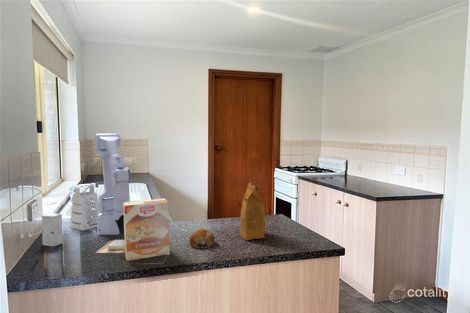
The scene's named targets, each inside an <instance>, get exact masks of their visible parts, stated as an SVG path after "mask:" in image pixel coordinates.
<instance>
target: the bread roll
mask: <svg viewBox="0 0 470 313" xmlns="http://www.w3.org/2000/svg"><path fill="white" fill-rule="evenodd" d="M215 239H216V238H215V235H214V232H212V231H211V230H209V229H207V228H197V229H196V230H194V231H193V232H192V233H191V234H190V236H189V246H190V247H192V248H194V249H206V248H209V247H212V246H214V244H215Z"/></svg>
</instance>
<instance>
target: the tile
mask: <svg viewBox="0 0 470 313" xmlns="http://www.w3.org/2000/svg"><path fill="white" fill-rule="evenodd" d="M107 248H108V250H125V239H114V241H113V242H112V243H110V244H109V245H108V246H107Z"/></svg>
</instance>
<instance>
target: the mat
mask: <svg viewBox="0 0 470 313" xmlns="http://www.w3.org/2000/svg"><path fill="white" fill-rule="evenodd" d="M114 240H115V239H114ZM114 240H112V239H111V240H109V241H108V242H106V243H105V244H104V245H103V246H102V247H100V248H99V249H98V250H97V251H95V252H94V254H118V253H119V254H120V253H121V254H122V253H123V254H125V250H108V248H107V246H108V245H109V244H110V243H112V242H113V241H114Z"/></svg>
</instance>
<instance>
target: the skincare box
mask: <svg viewBox="0 0 470 313" xmlns="http://www.w3.org/2000/svg"><path fill="white" fill-rule="evenodd" d="M62 216H63V215H62V213H56V212H55V213H52V212H49V213H46V214H42V215H41V226H42V227H41V230H42V231H41V233H42V236H41V237H42V245H43V246H47V247H56V246H59V245H61V244H63V225H62V224H63V222H62V221H63V218H62Z"/></svg>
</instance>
